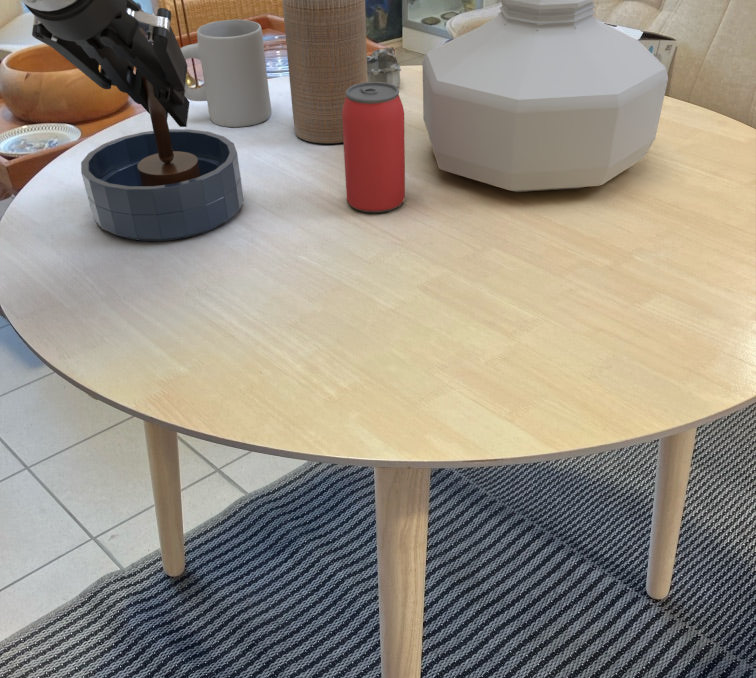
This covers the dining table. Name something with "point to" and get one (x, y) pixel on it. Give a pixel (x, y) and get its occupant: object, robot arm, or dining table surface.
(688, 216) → the dining table surface
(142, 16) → the robot arm
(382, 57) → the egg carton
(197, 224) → the bowl
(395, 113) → the beer can
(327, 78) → the vase
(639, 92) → the pot
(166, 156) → the brown handled stamp
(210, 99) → the mug
